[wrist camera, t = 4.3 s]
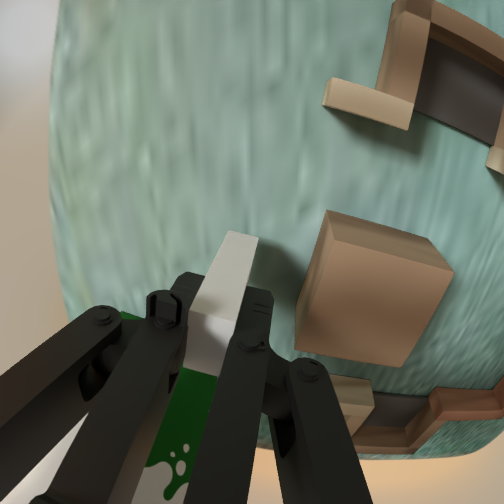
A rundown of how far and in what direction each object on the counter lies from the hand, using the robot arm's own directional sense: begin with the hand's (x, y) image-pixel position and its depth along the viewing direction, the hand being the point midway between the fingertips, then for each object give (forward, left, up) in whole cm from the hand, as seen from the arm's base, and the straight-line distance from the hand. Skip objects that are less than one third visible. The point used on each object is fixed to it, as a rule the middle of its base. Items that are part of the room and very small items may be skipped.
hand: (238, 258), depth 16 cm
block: (0, +7, -2) cm, 7 cm away
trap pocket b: (+12, +14, -1) cm, 18 cm away
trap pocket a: (-12, +9, -1) cm, 15 cm away
